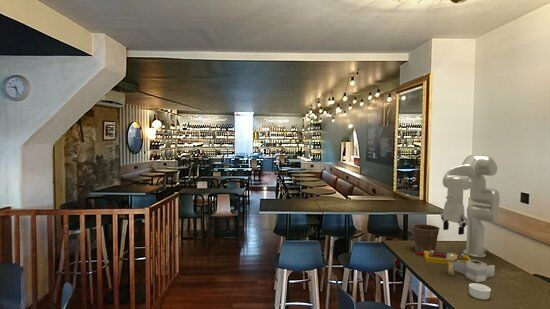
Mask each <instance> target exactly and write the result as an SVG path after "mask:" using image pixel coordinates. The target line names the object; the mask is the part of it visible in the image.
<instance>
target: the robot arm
mask: <svg viewBox="0 0 550 309" xmlns="http://www.w3.org/2000/svg"><path fill="white" fill-rule="evenodd" d="M497 172H498V165H497V162H495V160H494V159H493V158H492V157H491V156H489V155H483V154H482V155H480V154H471V155H468V156H466V157H465V159H464V160H463V161H462V163H461V165H459V166H458V165H457V166H455V167H452V168H450V169H448V170H447V171H446V172H445V174H444V175H443V177H442V185H443V187H444V188H446V189H447V192H446V193H447V194H446V195H447V196H445V199H446V201H445V202H444V206H443V212H440V213H439V214H440V217H441V218H440V219H441V220H442V223H443V226H442V227H443V228H442V230H444V231H448V230H449V228H450V227H449V224H450V223H449V222H451V223H457V225H458V231H457V232H458V235H460V236H461V235H464V234H465V228H466V246H465V247H466V248H465V249H463V252H462V254H464V255H468V256H469V257H474V258H485V257H487V253H485V252H487V251H489V248H488V247H485V246H484V245H485V225H484V223H482V222H489V223H496V222H498V221H499V218H500V217H499V216H500V192H499V190H497V189H494V188H487V186H486V185H487V179H486V178H485V176H489V177H490V176H491V177H493V176H495V175H496V174H497ZM467 190H469V199H470V201H471V202H473V203H474V204H469V205H468V206H467V207H466V212H465V204H464V191H467ZM475 203H476V204H475ZM483 204H484V205H483ZM485 204H486V205H485ZM465 213H466V216H465Z"/></svg>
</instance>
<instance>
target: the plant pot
mask: <svg viewBox="0 0 550 309" xmlns="http://www.w3.org/2000/svg"><path fill="white" fill-rule="evenodd" d="M412 228H413V229H412V232H413V237H414V241H413V242H414V251H415V252H424V251H429V252H430V251H434V252H437V251H436V250H437V243H438V236H439V231H440V230H441V228H440V227H439V226H437V225H436V226H435V225H432V224H422V223H416V224H413V225H412ZM434 254H436V253H434Z"/></svg>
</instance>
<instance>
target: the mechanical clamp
mask: <svg viewBox="0 0 550 309" xmlns="http://www.w3.org/2000/svg"><path fill="white" fill-rule="evenodd" d="M415 252H416V251H415ZM434 253H435V254H434ZM447 253H452V252H451V251H449V250H448V251H447V250H446V252H443V251H436V252H434V251H430V252H429V251H424V252H416V255H421V256H422V255H423V258H424V260H425V263H430V264H431V263H432V264H439V265H440V264H441V265H448V266H449V260H447V259H446V257H447ZM456 254H457V255H458V256H457V260H458V261H460V262H463V263H466V261H469V260H472V259H471V256H469V255H466V254H464V253H456ZM441 257H442V258H441Z"/></svg>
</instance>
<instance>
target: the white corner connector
mask: <svg viewBox="0 0 550 309" xmlns="http://www.w3.org/2000/svg"><path fill="white" fill-rule="evenodd" d="M458 260H459V259H457V261H455V265H454V272H457V273H459V274H462V275H464V276H465V278H466V279H468V280H470V281H472V282H473V283H481V282H482V283H483V282H486V279H487V278H493V277H495V267H496V265H494V264H490V265H487V263H486V262H483V261H480V260H478V259H471V260H469V261H466V263H463V262H460V261H458Z"/></svg>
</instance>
